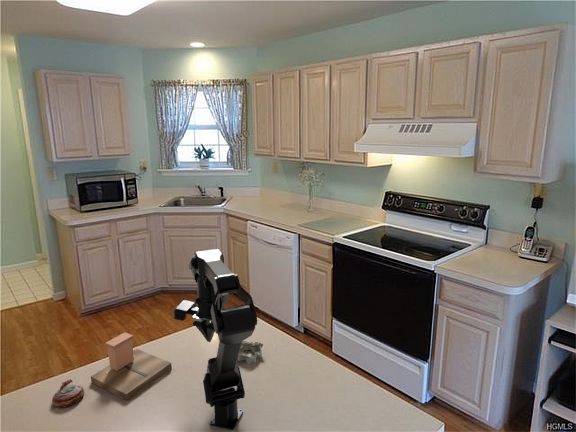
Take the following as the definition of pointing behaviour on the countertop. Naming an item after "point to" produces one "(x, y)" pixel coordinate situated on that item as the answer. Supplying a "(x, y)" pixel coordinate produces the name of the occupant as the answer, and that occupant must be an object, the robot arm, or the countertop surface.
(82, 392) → the pastry
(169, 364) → the fader track
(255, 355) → the egg carton
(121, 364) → the handle
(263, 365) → the countertop surface
